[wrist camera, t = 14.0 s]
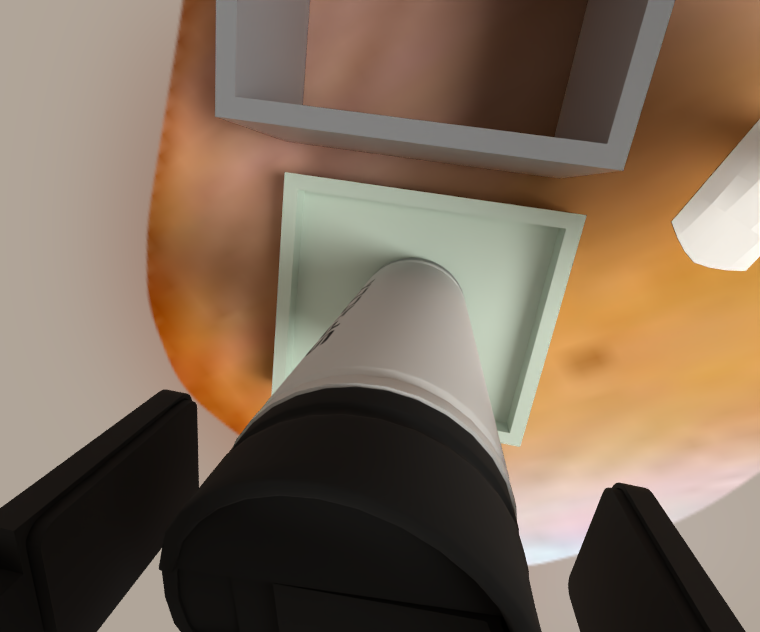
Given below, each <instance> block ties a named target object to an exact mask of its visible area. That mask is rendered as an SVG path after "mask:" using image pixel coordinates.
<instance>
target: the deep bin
mask: <svg viewBox="0 0 760 632" xmlns="http://www.w3.org/2000/svg"><path fill="white" fill-rule="evenodd" d="M674 2H675V0H588V3H587V7H586V11H585V15H584V19H583V23H582V27H581V31H580V35H579V39H578V43H577V47H576V51H575V55H574V59H573V63H572V67H571V71H570V75H569V79H568V84H567V88H566V92H565V96H564V100H563V104H562V108H561V112H560V116H559V120H558V124H557V128H556V132H555V136H554V137H548V136H540V135H533V134H525V133H517V132H509V131H501V130H493V129H485V128H478V127H470V126H462V125H454V124H446V123H438V122H430V121H423V120H415V119H407V118H399V117H391V116H383V115H375V114H368V113H360V112H352V111H344V110H336V109H328V108H320V107H313V106H305V105H303V93H304V78H305V64H306V49H307V35H308V20H309V5H310V0H216V70H215V117H218V118H221V119H223V120H226V121H229V122H232V123H235V124H238V125H241V126H244V127H246V128H249V129H252V130H255V131H258V132H261V133H264V134H267V135H270V136H272V137H275V138H278V139H281V140H284V141H287V142H294V143H301V144H309V145H316V146H323V147H331V148H338V149H345V150H353V151H360V152H367V153H375V154H382V155H390V156H397V157H404V158H412V159H419V160H426V161H434V162H441V163H448V164H456V165H463V166H470V167H478V168H485V169H492V170H500V171H507V172H515V173H522V174H529V175H537V176H544V177H551V178H559V179H560V178H568V177H576V176H584V175H592V174H600V173H608V172H617V171H623V170H624V166H625V163H626V160H627V157H628V153H629V150H630V147H631V143H632V140H633V137H634V134H635V130H636V127H637V124H638V121H639V117H640V114H641V111H642V107H643V104H644V101H645V98H646V94H647V91H648V88H649V84H650V81H651V78H652V75H653V71H654V68H655V65H656V61H657V58H658V55H659V52H660V48H661V45H662V42H663V38H664V35H665V32H666V29H667V25H668V22H669V19H670V16H671V12H672V9H673V6H674Z"/></svg>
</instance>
